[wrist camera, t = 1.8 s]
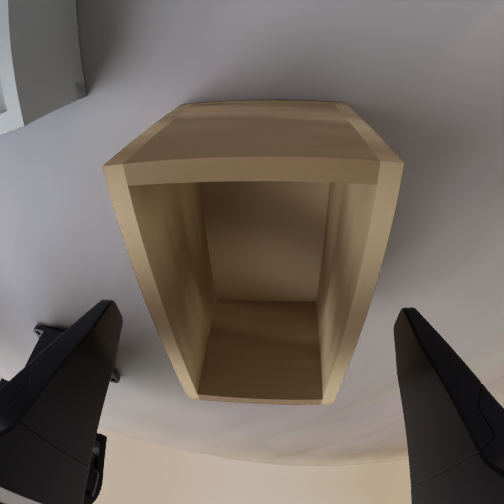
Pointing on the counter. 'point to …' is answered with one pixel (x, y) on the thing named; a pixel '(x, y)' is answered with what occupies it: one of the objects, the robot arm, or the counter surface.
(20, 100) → the grey crate
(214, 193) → the pine crate
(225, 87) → the counter surface
